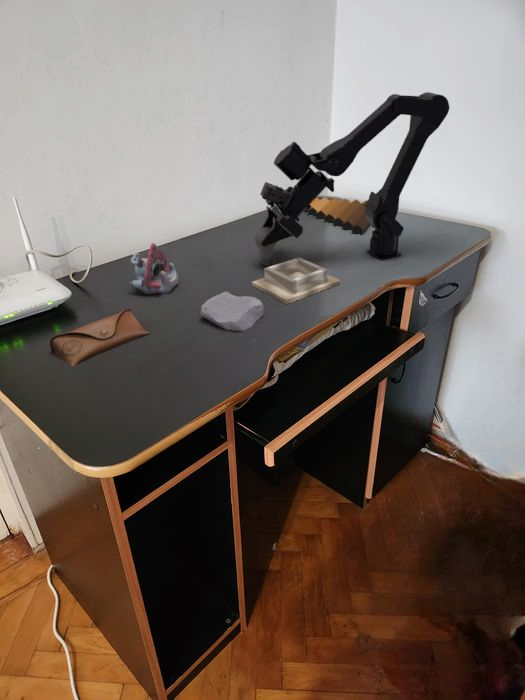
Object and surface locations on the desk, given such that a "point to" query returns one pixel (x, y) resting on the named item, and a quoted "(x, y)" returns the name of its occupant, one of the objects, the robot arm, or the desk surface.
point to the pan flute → (341, 213)
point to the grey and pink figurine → (154, 272)
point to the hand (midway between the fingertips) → (260, 241)
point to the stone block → (232, 311)
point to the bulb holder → (294, 280)
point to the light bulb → (267, 250)
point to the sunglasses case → (97, 337)
